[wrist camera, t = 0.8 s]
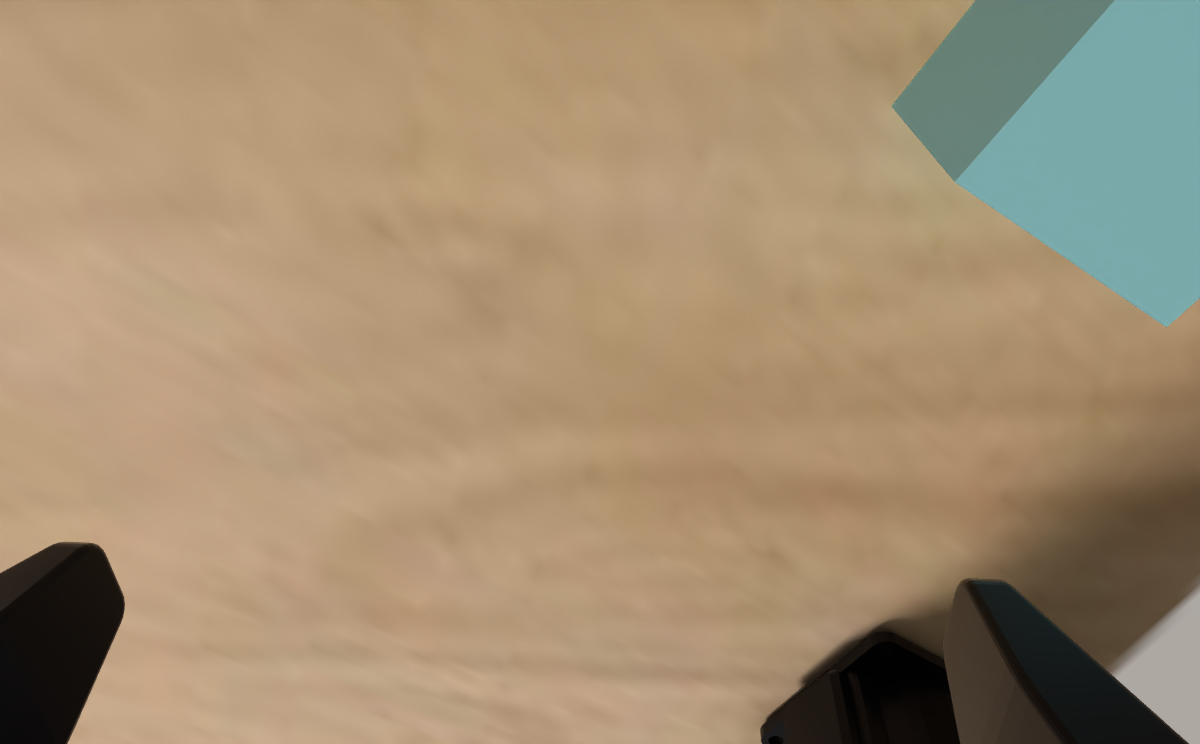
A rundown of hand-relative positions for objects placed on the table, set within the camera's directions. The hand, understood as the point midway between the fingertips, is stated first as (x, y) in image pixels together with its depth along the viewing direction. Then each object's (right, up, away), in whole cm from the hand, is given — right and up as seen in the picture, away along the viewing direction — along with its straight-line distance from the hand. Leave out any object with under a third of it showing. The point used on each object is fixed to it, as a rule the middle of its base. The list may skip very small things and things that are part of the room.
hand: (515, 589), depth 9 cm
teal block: (+11, +9, +9) cm, 16 cm away
